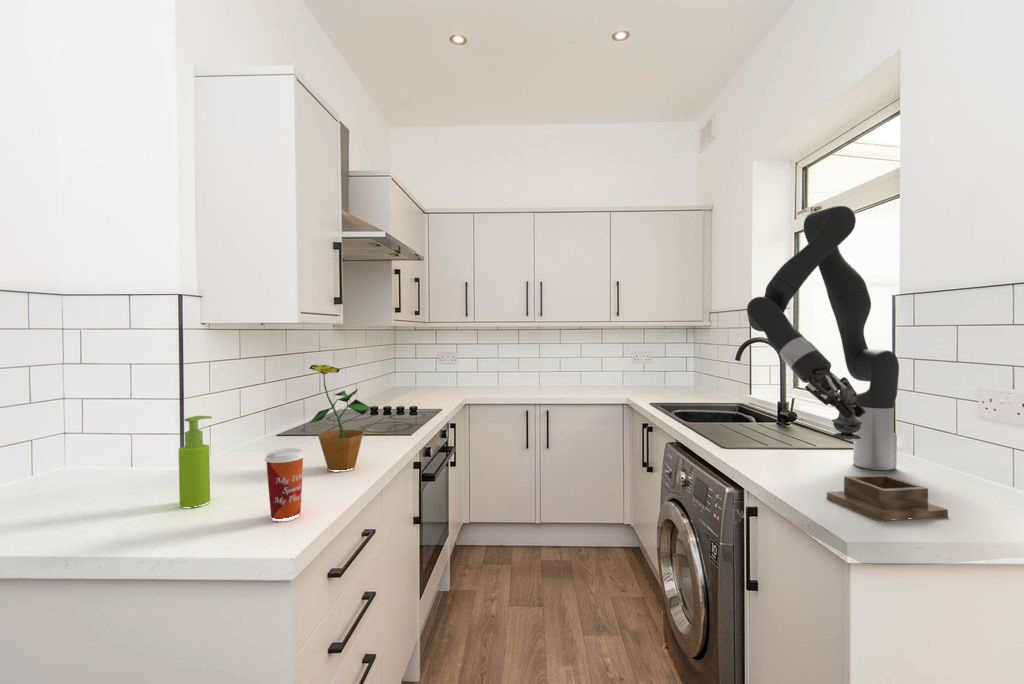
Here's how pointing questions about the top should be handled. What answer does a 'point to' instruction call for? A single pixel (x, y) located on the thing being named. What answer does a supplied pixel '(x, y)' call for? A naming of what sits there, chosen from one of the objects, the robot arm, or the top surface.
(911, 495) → the stand
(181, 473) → the soap dispenser
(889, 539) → the top surface
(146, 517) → the top surface
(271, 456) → the paper cup
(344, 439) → the potted plant
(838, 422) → the salt shaker
